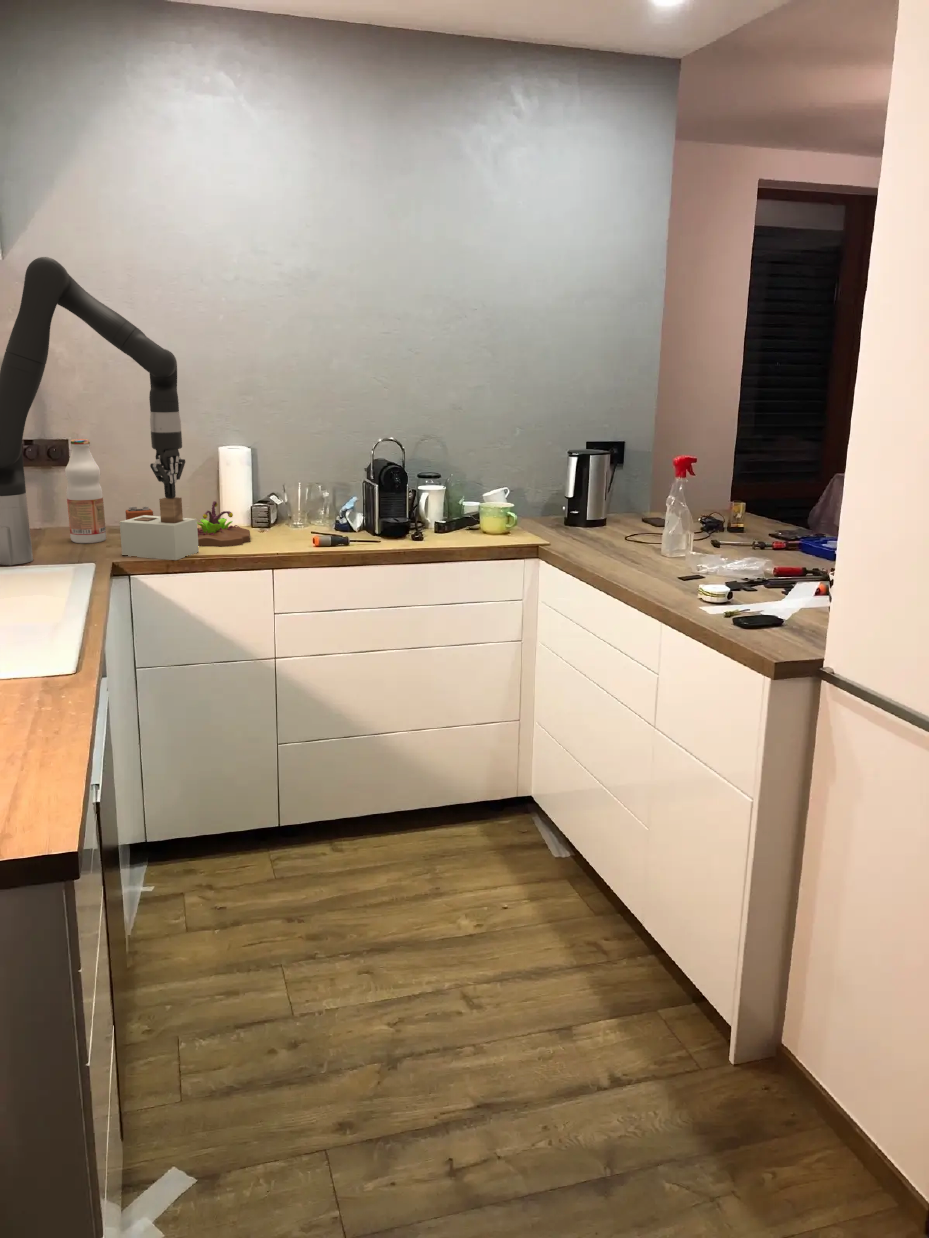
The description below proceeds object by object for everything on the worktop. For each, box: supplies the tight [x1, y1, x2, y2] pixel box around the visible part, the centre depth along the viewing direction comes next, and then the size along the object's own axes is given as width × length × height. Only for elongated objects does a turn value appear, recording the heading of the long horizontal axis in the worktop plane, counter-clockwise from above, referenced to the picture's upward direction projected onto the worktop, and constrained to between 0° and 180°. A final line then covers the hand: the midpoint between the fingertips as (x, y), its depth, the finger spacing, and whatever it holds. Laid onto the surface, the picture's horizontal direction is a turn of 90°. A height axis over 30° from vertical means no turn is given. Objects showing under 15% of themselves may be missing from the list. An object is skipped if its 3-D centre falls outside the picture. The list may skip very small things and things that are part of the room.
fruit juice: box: [64, 438, 107, 544], centre depth 274 cm, size 9×9×28 cm
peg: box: [158, 496, 184, 523], centre depth 258 cm, size 4×4×9 cm
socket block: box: [119, 515, 200, 561], centre depth 261 cm, size 11×16×9 cm
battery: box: [125, 506, 154, 520], centre depth 275 cm, size 4×7×10 cm, turn 118°
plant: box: [197, 500, 251, 548], centre depth 280 cm, size 20×20×11 cm
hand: (170, 497), depth 257 cm, fingers closed
